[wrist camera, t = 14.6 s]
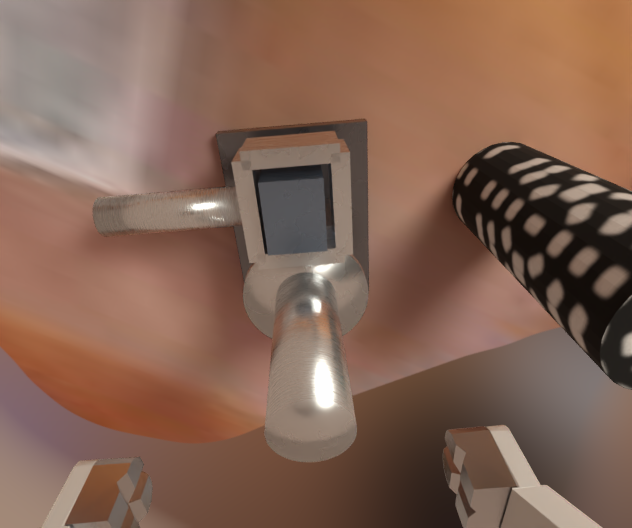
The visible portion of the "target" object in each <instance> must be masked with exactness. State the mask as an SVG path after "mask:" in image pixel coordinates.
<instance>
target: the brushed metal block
mask: <svg viewBox="0 0 632 528" xmlns="http://www.w3.org/2000/svg"><path fill="white" fill-rule="evenodd" d="M258 187H259V194H260V201H261V208H262V215H263V223H264V230H265V237H266V244H267V251H268V256H269V255H282V254H295V253H308V252H322V251H328V249H327V231H326V213H325V195H324V178H323V173H322V168H321V164H317V165H305V166H294V167H282V168H270V169H262V171H261V174H260V178H259V181H258Z"/></svg>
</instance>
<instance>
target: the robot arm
mask: <svg viewBox="0 0 632 528" xmlns="http://www.w3.org/2000/svg"><path fill="white" fill-rule="evenodd" d="M445 440H446V443H447V447H446V448H445V449H444V450H443V465H444V471H445V475H446V479H447V482H448V485H449V488H451V489H452V490H453V491H454V492H455V493H456V494H457V498H456V508H457V511H458V514H459V517H460V520H461V522H462V525H463V528H602V527H601V526H599V525H598V524H597V523H596V522H594V521H593V520H591V519H590V518H589V517H588V516H586V515H585V514H584V513H582V512H581V511H580V510H579V509H577V508H576V507H575V506H573V505H572V504H571V503H569V502H568V501H567V500H566V499H564V498H563V497H562V496H560V495H559V494H558V493H556V492H555V491H553V490H552V489H551V488H550V487H549V486H547V485H540V483H539V482H538V480H537V478H536V476H535V475H534V473H533V471H532V469H531V467H530V465H529V464H528V462H527V460H526V458H525V457H524V455H523V453H522V451H521V450H520V448H519V446H518V444H517V442H516V441H515V439H514V437H513V436H512V434H511V432H510V430H509V428H507V427H506V426H505V425H498V426H490V427H484V426H481V427H472V428H462V429H453V430H448V431H447V432H446V435H445ZM143 465H144V464H143V462H142V460H141V458H140V457H129V458H115V459H98V460H86V461H79V462H78V463H77V465H75V466H74V468H73V469H72V471H71V473H70V475H69V477H68V479H67V480H66V482H65V484H64V486H63V488H62V490H61V492H60V493H59V495H58V497H57V499H56V501H55V503H54V505H53V506H52V508H51V510H50V512H49V514H48V516H47V518H46V520H45V521H44V523H43V525H42V527H41V528H140V526H139V522H140V521H141V520H142V519H143V518H144V517H145V515H146V514H147V513H148V510H149V507H150V503H151V498H152V482H151V479H150V477H149V475H148V474H146V473H145V472H143V471H142V468H143Z"/></svg>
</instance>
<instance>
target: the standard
mask: <svg viewBox="0 0 632 528" xmlns="http://www.w3.org/2000/svg"><path fill="white" fill-rule="evenodd" d="M216 138H217V143H218V148H219V153H220V159H221V164H222V169H223V174H224V180H225V185H226V187H217V188H205V189H194V190H182V191H170V192H158V193H146V194H135V195H123V196H111V197H100V198H97V199H96V200H95V202H94V205H93V219H94V223H95V226H96V228H97V230H98V232H99V233H100V234H101V235H102V236H104V237H113V236H125V235H136V234H148V233H160V232H172V231H184V230H195V229H207V228H219V227H231V226H233V227H234V232H235V237H236V242H237V247H238V253H239V258H240V263H241V268H242V273H243V279H244V288H243V302H244V306H245V310H246V312H247V314H248V317H249V318H250V320H251V321H252V323H253V324H254V325H255V326H256V327H257V328H258V329H259V330H260V331H261V332H262V333H263V334H265V335H266V336H268V337H270V338H271V339H272V350H271V362H270V374H269V386H268V397H267V409H266V421H265V439H266V442H267V443H268V445H269V446H270V448H271V449H272V450H273V451H274V452H276V453H277V454H279V455H281V456H283V457H285V458H287V459H290V460H294V461H299V462H318V461H323V460H327V459H331V458H333V457H336V456H337V455H339V454H341V453H343V452H344V451H345V450H347V449H348V448H349V447H350V445H352V443H353V441H354V439H355V437H356V434H357V426H356V420H355V413H354V407H353V400H352V394H351V387H350V381H349V375H348V368H347V362H346V355H345V349H344V343H343V335H345V334H347V333H348V332H349V331H350V330H352V328H353V327H354V326H355V325H356V324H357V323H358V322H359V320H360V319H361V317H362V316H363V314H364V312H365V309H366V307H367V302H368V291H369V260H368V158H367V121H366V120H365V119H357V120H346V121H334V122H322V123H310V124H298V125H287V126H275V127H263V128H251V129H239V130H228V131H218V132H217V133H216ZM317 164H321V168H322V173H323V178H324V195H325V213H326V231H327V249H328V251H322V252H308V253H295V254H282V255H269V256H268V251H267V244H266V237H265V230H264V223H263V215H262V208H261V201H260V194H259V187H258V181H259V178H260V174H261V171H262V169H270V168H282V167H294V166H305V165H317Z"/></svg>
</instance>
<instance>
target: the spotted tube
mask: <svg viewBox="0 0 632 528" xmlns="http://www.w3.org/2000/svg"><path fill="white" fill-rule="evenodd" d="M452 200H453V206H454V210H455V212H456V214H457V216H458V217H459V219H460V220H461V221H462V222H463V223H464V224H465V225H466V226H467V227H468V228H469V229H470V230H471V232H472V233H473V234H474V235H475V236H476V237H477V238H478V239H479V240H480V241H481V242H482V243H483V244H484V245H485V246H486V247H487V249H488V250H489V251H490V252H491V253H492V254H493V255H494V256H495V257H496V258H497V259H498V260H499V261H500V262H501V263H502V264H503V266H504V267H505V268H506V269H507V270H508V271H509V272H510V273H511V274H512V275H513V276H514V277H515V278H516V279H517V280H518V281H519V282H520V284H521V285H522V286H523V287H524V288H525V289H526V290H527V291H528V292H529V293H530V294H531V295H532V296H533V297H534V298H535V299H536V301H537V302H538V303H539V304H540V305H541V306H542V307H543V308H544V309H545V310H546V311H547V312H548V313H549V314H550V315H551V316H552V318H553V319H554V320H555V321H556V322H557V323H558V324H559V325H560V326H561V327H562V328H563V329H564V330H565V331H566V332H567V333H568V335H569V336H570V337H571V338H572V339H573V340H574V341H575V342H576V343H577V344H578V345H579V346H580V347H581V348H582V349H583V350H584V352H585V353H586V354H587V355H588V356H589V357H590V358H591V359H592V360H593V361H594V362H595V363H596V364H597V365H598V366H599V367H600V368H601V370H602V371H603V372H604V373H605V374H606V375H607V376H608V377H609V378H610V379H611V380H612V381H613V382H614V383H616V384H618V385H620V386H622V387H623V388H627V389H630V390H632V191H630V190H628V189H625V188H623V187H621V186H618V185H616V184H614V183H611V182H609V181H607V180H604V179H602V178H600V177H598V176H595V175H593V174H591V173H588V172H586V171H584V170H581V169H579V168H577V167H574V166H572V165H570V164H568V163H565V162H563V161H561V160H558V159H556V158H554V157H551V156H549V155H547V154H545V153H542V152H540V151H538V150H535V149H533V148H531V147H528V146H526V145H523V144H521V143H515V142H502V143H498V144H494V145H491V146H489V147H487V148H485V149H483V150H481V151H480V152H478V153H477V154H475V155H474V156H473V157H472V158H471V159H470V160H469V161H468V162H467V163H466V164H465V165H464V167H463V168H462V169H461V171H460V173H459V174H458V176H457V178H456V181H455V184H454V187H453V194H452Z"/></svg>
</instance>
